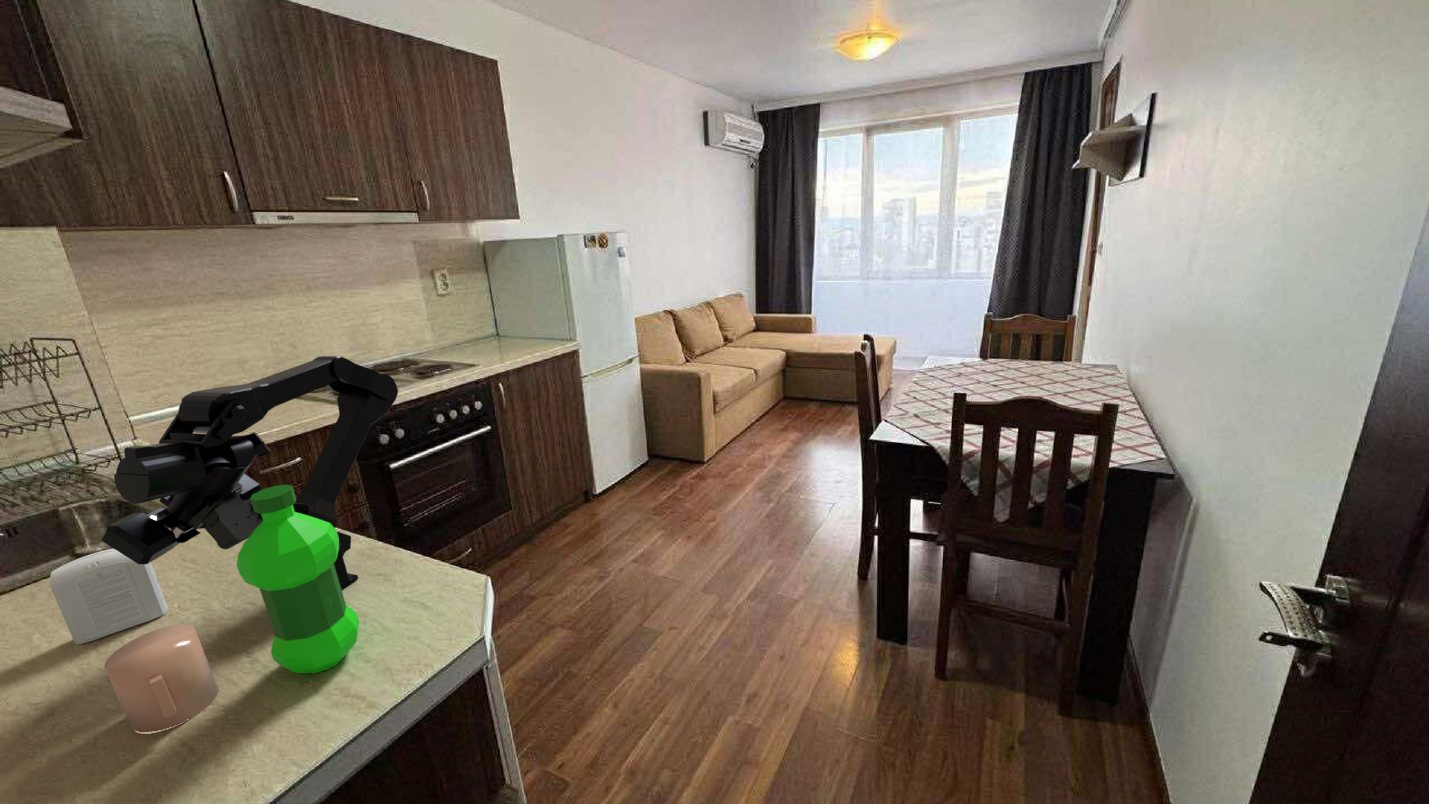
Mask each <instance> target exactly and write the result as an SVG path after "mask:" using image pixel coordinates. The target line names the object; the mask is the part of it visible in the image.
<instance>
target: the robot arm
mask: <svg viewBox="0 0 1429 804" xmlns="http://www.w3.org/2000/svg"><path fill="white" fill-rule="evenodd" d="M324 387H327V388H328V389H329V390H331V392H334V393H336V394H337V395H338V396H337V399H336V400H337V402H336V403H337V408H338V414H339V415H338V417H337V419H336V422H335V423H334V426H333V427H332V430H331V431H330V434H329V436H328V437H327V439H326V442H325V444H324V445H323V448H322V450H321V451H320V454H319V455H318V458H317V460H316V462H315V464H314V466H313V468H312V469H311V472H310V474H309V475H308V478H307V480H306V482H305V484H304V486H303V488H302V490H301V492H300V494H299V495H298V496H296V502H295V503H294V504H293V507H294V511H295V512H297V513H301V514H304V515H308V516H311V517H314V518H317V519H320V520H323V521H326V522H329V523H330V524H331V525H332V526H333V527H334V528H335V529H336V528H337V524H338V519H337V511H336V505H335V504H336V501H337V500H338V497H339V495H340V493H341V491H342V489H343V486H344V484H345V482H346V480H347V478H348V476H349V474H350V471H351V469H352V467H353V465H354V463H355V461H356V459H357V457H358V454H359V453H360V451H361V450H360V449H361V448H362V445H363V443H364V442H365V440H366V437H367V435H368V432H369V430H370V428H371V426H372V425H374V423H376V422H377V421H378V420H380V419H381V418H382V417H384V416H385V415H386V414H387V413H388V412H389V410H390V409H391V408H392V407H393V405H394V403H395V401H396V399H397V398H398V394H399V389H398V386H397V384H396V381H395V379H394V378H393V377H392V376H391V375H390V374H388V373H380V372H378V371H377V370H374V369H372V368H368V367H366V366H363V365H360V364H358V363H355V362H353V361H352V360H350V359H348V358H345V357H344V356H340V355H337V356H336V355H322V356H320V355H319V356H317V357H315V358H313V359H312V360H310V361H308V362H305V363H302V364H299V365H296V366H294V367H291V368H288V369H284V370H283V371H279V372H277V373H274V374H272V375H271V374H270V375H268V376H266V377H263V378H260V379H257V380H253V381H252V382H248V383H243V384H235V385H228V386H227V385H226V386H219V387H212V388H207V389H202V390H201V389H200V390H196V391H192V392H190V393H188V394H186V395H184V396H183V397H182V398H181V402H180V404H179V406H178V412H177V414H176V415H175V417H174V418H173V420H172V422H170V424H169V425H168V427H167V428H166V430H165V431H164V433H163V435H162V436H161V437H160V439H159V441H158V443H156V444H155V443H154V444H149V445H133V446H128V447H125V448H124V449H123V452H124V457H123V458H122V459H120V461H119V462H118V464H117V467H116V473H114V474H113V479H114V483H115V487H116V490H117V491H118V493H119V494H120V496H121V497H122V499H124V500H125V501H126V502H128V503H130V504H133V505H139V504H142V503H147V502H151V501H155V500H158V499H159V501H158V502H160V503H161V504H162V505H164V506H166V507H165V508H164V507H159V508H157V509H155V510H154V511H151V512H149V513H147V514H146V513H144V512H143V511H142V512H133V513H130V514H129V515H127V516H125V517H123V518H121V519H118V520H117V521H113V523H111V524H108V525H106V527H105V529H104V530H103V532H102V534H101V535H100V536H101V538H100V541H101V542H103V543H104V544H106V545H108V546H109V547H111V549H115V550H117V551H118V552H120V553H122V554H123V555H125V556H126V557H128V558H129V559H131V560H133V561H134V562H136V563H137V564H148V563H150V562H151V563H152V562H153V561H155V560H157V559H158V558H160V557H162V556H164V555H165V554H167V553H168V552H170V551H172V550H173V549H175V547H177V546H179V544H184V543H187V542H189V541H190V540H192V539H193V538H195V537H197V536H198V535H200V534H201V532H200V531H199V530H201V529H204V530H205V531H206V532H207V533H208V535H210V537H211V538H212V539H213V540H214V541H215V542H216V545H217V546H218V548H220V549H223V550H230V549H231V548H233V547H234V546H237V545H239V544H240V543H242V542H245V541H246V540H247V539H248V538H249V536H250V535H251V534H252V533H253V531H254V530H255V529H256V528H257V527H258V526H259V525H260V524H261V523H262V522H263V519H262V515H261V514H259V513H256V512H254V509H253V506H252V503H251V500H250V498H251V496H252V495H253V494H255V493H256V492H258V491H260V490H262V488H261V485H260V483H258V482H257V481H256V480H254V479H252V478H251V477H249V476H248V475H247V474H246V472H247V470H248V468H250V466H251V464H252V463H253V462H254V460H255V459H256V458H260V457H265V456H270V455H271V454H272V450H271V449H270V448H269V447H268V446H267V445H266V443H265V441H264V440H263V439H262V438H261V436H260V435H259V434H258V433H256V432H251V433H249V434H243V435H237V434H240V433H243V432H244V431H246V430H248V429H250V428H251V427H252V426H254V425H255V424H256V425H257V424H258V423H259V422H260V421H262V420H264V418H265V416H267V414H268V413H269V411H271V410H273V409H274V408H276V407H278V406H281V405H283V404H285V403H288V402H289V401H290V402H291V401H293V400H295V399H298V398H300V397H302V396H305V395H307V394H310V393H312V392H314V391H317V390H319V389H321V388H324ZM337 534H338V537H339V551H338V555H337V559H336V561H335V562H334V566H335V569H336V573H337V576H338V580H339V583H340V586H341V590H344V588H346V587H348V586H349V585H351V584H352V583H354V582H355V581H357V580H359V575H358V574H355V573H349V572H348V570H347V566H346V564H345V563H346V562H345V560H344V556H345V553H346V552H347V551H350V550H351V546H352V536H351V535H350V534H347V533H344V532H340V531H337Z"/></svg>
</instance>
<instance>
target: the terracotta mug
mask: <svg viewBox="0 0 1429 804" xmlns="http://www.w3.org/2000/svg"><path fill="white" fill-rule="evenodd" d="M103 668H104V670H105V672H106V674H107V677H108V679H109V681H110V683H111V685H112V687H113V689H114V692H115V694H116V696H117V698H118V701H119V702H120V704H121V705H120V706H121V707H122V709H123V711H124V713H125V715H126V718H127V720H128V722H129V725H130V727H131V728H133V729H134V730H135V731H139V732H150V731H151V732H152V731H158V730H163V729H166V728H169V727H173V726H175V725H178V724H180V723H182V722H184V721H186V720H187V719H190V720H192V719H193V718H194V717H193V716H195V717H196V715H197V714H198V715H199V714H201V713H202V712H203V711H205V710H206V709H207V708H208V707H209V706H210V705H211V704H212V703H213V702H214V701H215V700H216V698H217V695H218V693H219V686H218V685H217V681H216V680H215V676H214V674H213V671H212V669H211V666H210V663H209V661H208V659H207V655H206V653H205V651H204V648H203V646H202V644H201V641H200V638H199V636H198V633H197V630H196V628H195V627H194V626H192V625H190V624H176V625H171V626H167V627H165V626H164V627H163V628H159V629H155V630H152V631H151V632H148V633H145V634H143V635H140V636H139V637H136V638H135V639H132V640H130V641H129V642H127V643H125V644H123V645H122V646H120V647H119V648H117V649H116V650H115V651H114V652H113V653H112V654H111V655H109V656H108V658H107V659H106V661H105V662H104V667H103ZM201 711H202V712H201ZM200 712H201V713H200ZM198 715H197V716H198ZM192 717H193V718H192ZM191 718H192V719H191ZM133 729H132V730H133Z"/></svg>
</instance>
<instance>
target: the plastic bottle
mask: <svg viewBox="0 0 1429 804" xmlns="http://www.w3.org/2000/svg"><path fill="white" fill-rule="evenodd" d="M296 498H297V496H296V494H295V489H294V486H293V485H290V484H279V485H274V486H271V487H266V488H262V489H261V490H260V491H258V492H256V493H255V494H253V495H252V496H251V498H250V500H251V503H252V506H253V509H254V512H256V513H259V514H261V515H262V519H263V522H262V523H261V524H260V525H259V526H258V527H257V528H256V529H255V530H254V531H253V533H252V534H251V535H250V536H249V538H247V539H246V540H244V541H243V542H244V543H243V544H242V546H241V547H240V550H239V552H238V553H237V559H236V568H237V570H238V573H239V576H240V577H241V578H242V579H243V580H244V582H245V583H246V584H249V585H250V586H253V587H256V588H257V589H259V590H260V594H261V597H262V599H263V604H264V605H265V608H266V611H267V614H268V617H269V620H270V624H271V626H272V629H273V632H274V637H273V641H272V644H271V651H270V653H271V657H272V659H273V661H275V662H276V663H277V664H278V665H279V666H280V667H283V668H285V669H287V670H288V671H291V672H293V673H297V674H307V675H310V674H309V673H312V674H317V673H318V672H319V673H322V672H321V671H323V670H325V671H327V670H329V669H330V668H329V667H331V668H333V667H335V666H337V665H338V664H339V663H340V662H342V660H343V659H345V657H346V656H347V654H348V653H349V652H350V651H351V649H353V647H354V646H355V644H356V642H357V641H358V633H359V627H360V618H359V615H358V613H357V612H356V611H355V610H354V609H353V608H352V607H351V606H349V605H347V604H346V601H345V598H344V597H345V596H344V594H343V591H342V590H343V589H342V590H341V586H340V583H339V580H338V576H337V573H336V569H335V566H334V562H335V561H336V559H337V555H338V551H339V537H338V534H337V529H336V527H335V528H334V527H333V526H332V525H331V524H330V523H329V522H326V521H323V520H320V519H317V518H314V517H311V516H308V515H304V514H301V513H297V512H295V511H294V507H293V504H294V503H295V502H296ZM345 655H346V656H345ZM344 656H345V657H344ZM342 658H343V659H342ZM341 659H342V660H341ZM339 661H340V662H339ZM338 662H339V663H338ZM336 664H337V665H336ZM334 665H335V666H334ZM332 666H333V667H332ZM328 668H329V669H328ZM326 669H327V670H326ZM323 672H324V671H323Z"/></svg>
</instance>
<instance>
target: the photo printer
mask: <svg viewBox="0 0 1429 804" xmlns="http://www.w3.org/2000/svg"><path fill="white" fill-rule="evenodd" d="M49 578H50V581H49V587H50V590H51V593H52V594H53V596H54V597H53V598H55V602H56V603H57V606H58V608H59V611H60V612H61V615H62V618H63V619H64V621H65V625H66V626H67V628H68V631H69V633H70V634H71V637H72V640H73V641H74V643H75V644H77V645H82V644H86V643H88V642H92V641H95V640H99V639H100V638H104V637H106V636H110V635H112V634H115V633H118V632H121V631H124V630H127V629H130V628H132V627H135V626H139V625H141V624H144V623H146V622H149V621H152V620H155V619H157V618H159V617H162V616H164V615H166V613H167V612H168V610H169V607H168V605H167V602H166V599H165V597H164V594H163V592H162V591H163V590H162V589H161V586H160V583H159V581H158V578H157V575H156V573H155V569H154V567H153V565H152V562H150V563H148V564H137V563H136V562H134V561H133V560H131V559H129V558H128V557H126V556H125V555H123V554H122V553H120V552H118V551H117V550H115V549H114V548H111V549H106V550H102V551H98V552H94V553H91V554H88V555H85V556H82V557H79V558H77V559H74V560H72V561H69V562H67V563H66V564H64V565H61V566H59V567H57V568H55V569H54V570H52V571H51V572H50V575H49Z"/></svg>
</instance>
